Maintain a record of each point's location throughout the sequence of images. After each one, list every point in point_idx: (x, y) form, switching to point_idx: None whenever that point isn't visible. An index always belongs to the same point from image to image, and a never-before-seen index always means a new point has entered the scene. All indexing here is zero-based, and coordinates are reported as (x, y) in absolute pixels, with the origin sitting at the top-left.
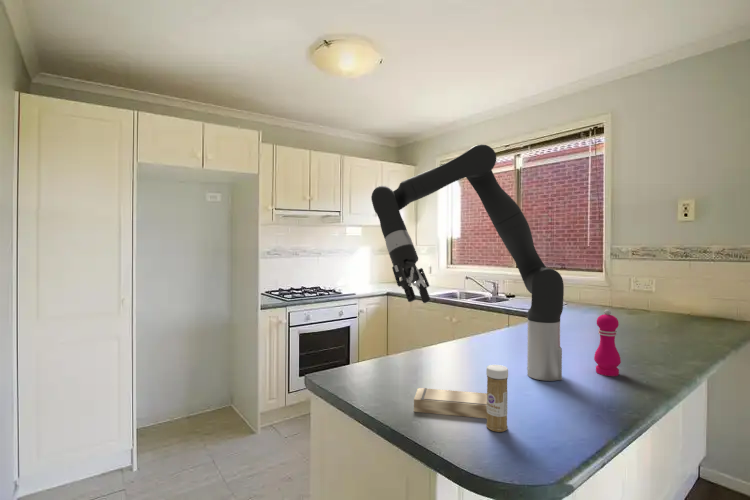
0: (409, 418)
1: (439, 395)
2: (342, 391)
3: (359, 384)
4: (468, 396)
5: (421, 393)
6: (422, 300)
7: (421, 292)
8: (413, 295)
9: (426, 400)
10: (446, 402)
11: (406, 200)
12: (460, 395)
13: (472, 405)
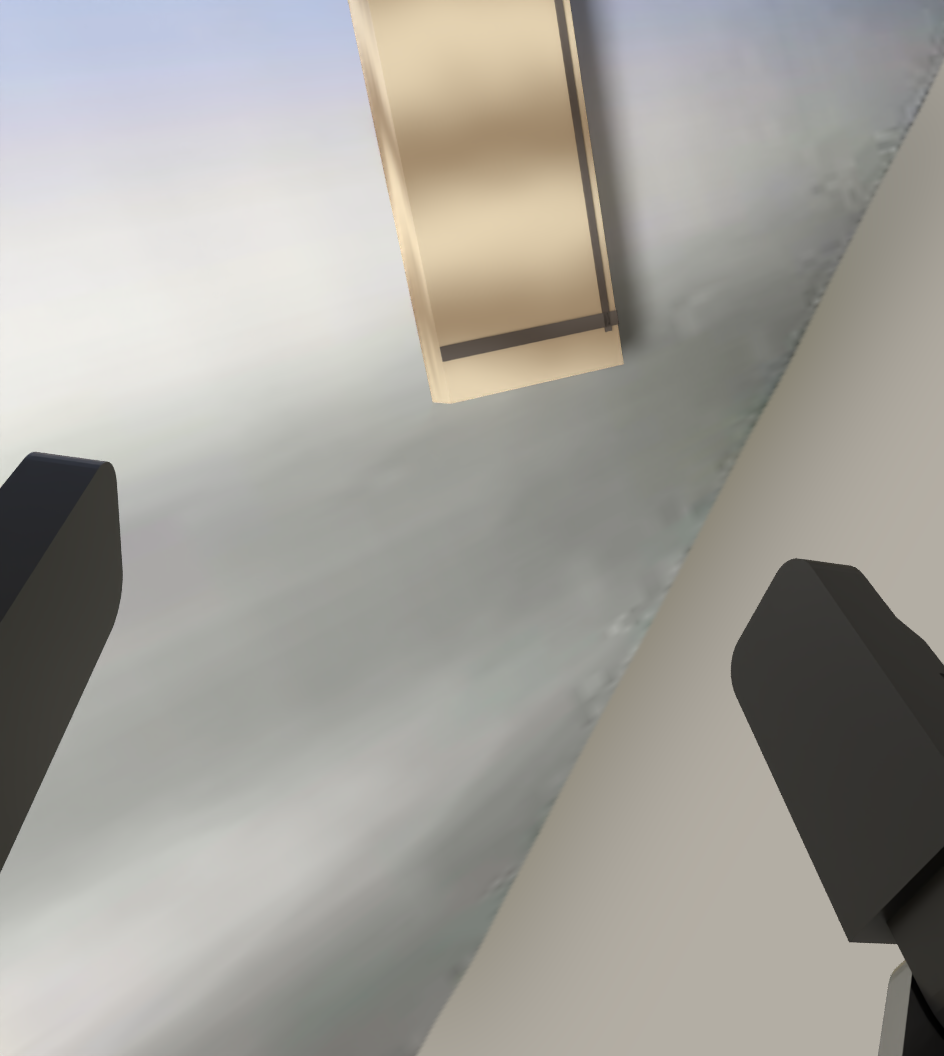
0: (666, 359)
1: (518, 238)
2: (499, 813)
3: (363, 805)
4: (461, 51)
5: (529, 352)
6: (99, 651)
7: (9, 794)
8: (885, 616)
9: (612, 292)
10: (594, 175)
11: None
12: (465, 107)
13: (569, 15)
